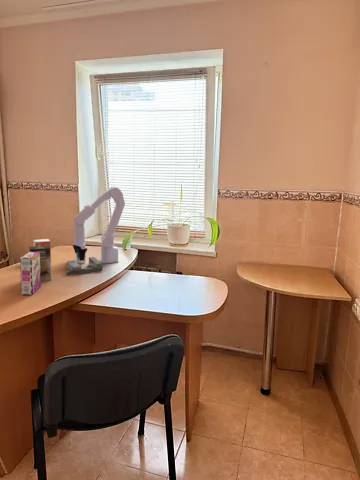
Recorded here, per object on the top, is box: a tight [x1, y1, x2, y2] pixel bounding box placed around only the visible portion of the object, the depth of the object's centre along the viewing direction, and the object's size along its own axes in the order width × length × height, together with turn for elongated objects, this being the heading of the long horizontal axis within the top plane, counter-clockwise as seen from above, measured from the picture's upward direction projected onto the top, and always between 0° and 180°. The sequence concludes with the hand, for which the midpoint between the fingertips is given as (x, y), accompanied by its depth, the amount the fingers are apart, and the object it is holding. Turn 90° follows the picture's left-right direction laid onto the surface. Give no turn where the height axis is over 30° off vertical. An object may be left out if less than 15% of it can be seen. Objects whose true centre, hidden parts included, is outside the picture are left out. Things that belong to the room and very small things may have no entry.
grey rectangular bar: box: [66, 259, 83, 271], centre depth 176 cm, size 4×14×4 cm, turn 32°
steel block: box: [74, 251, 86, 265], centre depth 191 cm, size 5×4×6 cm
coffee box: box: [28, 246, 52, 282], centre depth 159 cm, size 9×6×16 cm
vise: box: [66, 256, 103, 276], centre depth 178 cm, size 18×14×4 cm
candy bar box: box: [19, 251, 42, 296], centre depth 144 cm, size 11×5×16 cm, turn 5°
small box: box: [32, 238, 52, 263], centre depth 187 cm, size 8×6×13 cm
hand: (79, 258), depth 192 cm, fingers open, 7 cm apart
